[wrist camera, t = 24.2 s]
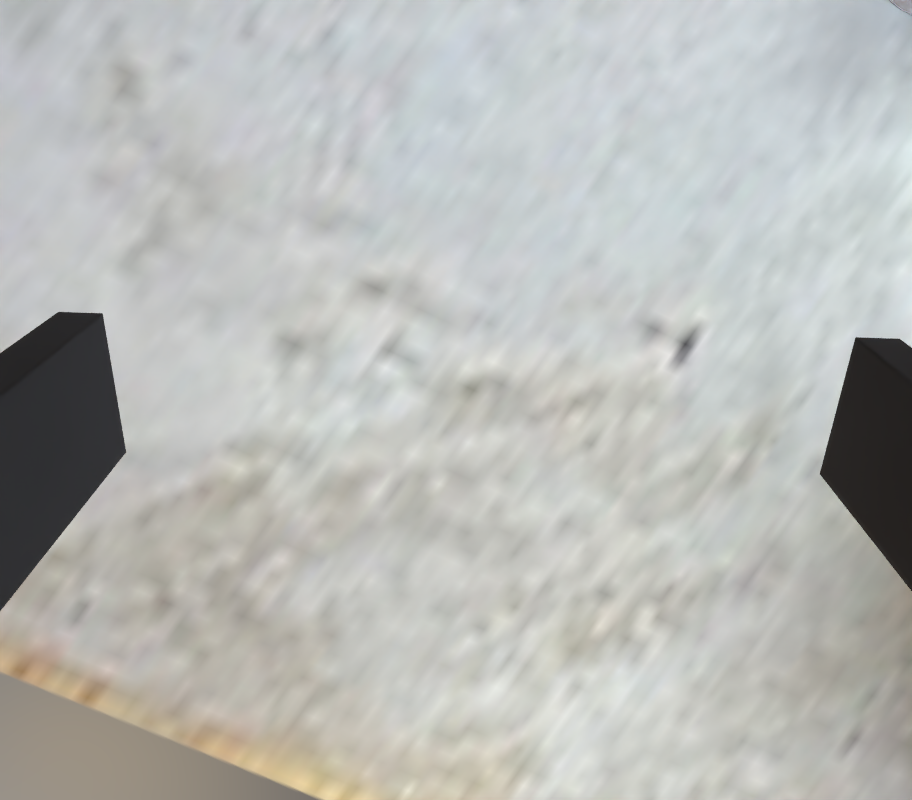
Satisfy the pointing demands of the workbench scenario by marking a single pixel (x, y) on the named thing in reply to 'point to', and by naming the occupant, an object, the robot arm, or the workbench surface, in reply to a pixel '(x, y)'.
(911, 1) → the bottle
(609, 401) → the workbench surface
